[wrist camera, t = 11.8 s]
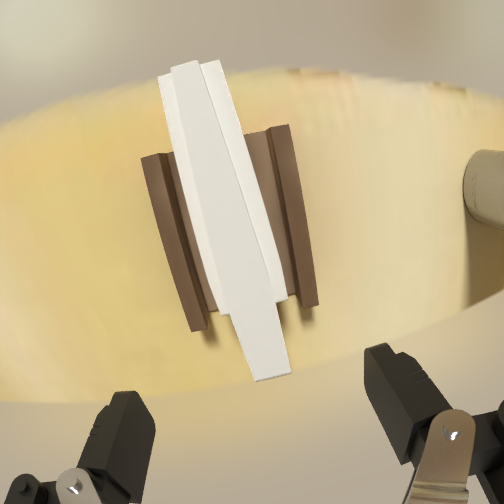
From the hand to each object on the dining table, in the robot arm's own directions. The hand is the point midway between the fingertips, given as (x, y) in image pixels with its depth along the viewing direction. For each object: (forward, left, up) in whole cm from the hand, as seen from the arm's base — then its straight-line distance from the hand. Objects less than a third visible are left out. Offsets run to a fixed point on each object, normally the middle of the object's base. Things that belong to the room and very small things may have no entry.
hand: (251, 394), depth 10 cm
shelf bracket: (0, -2, -20) cm, 20 cm away
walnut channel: (0, -1, -21) cm, 21 cm away
